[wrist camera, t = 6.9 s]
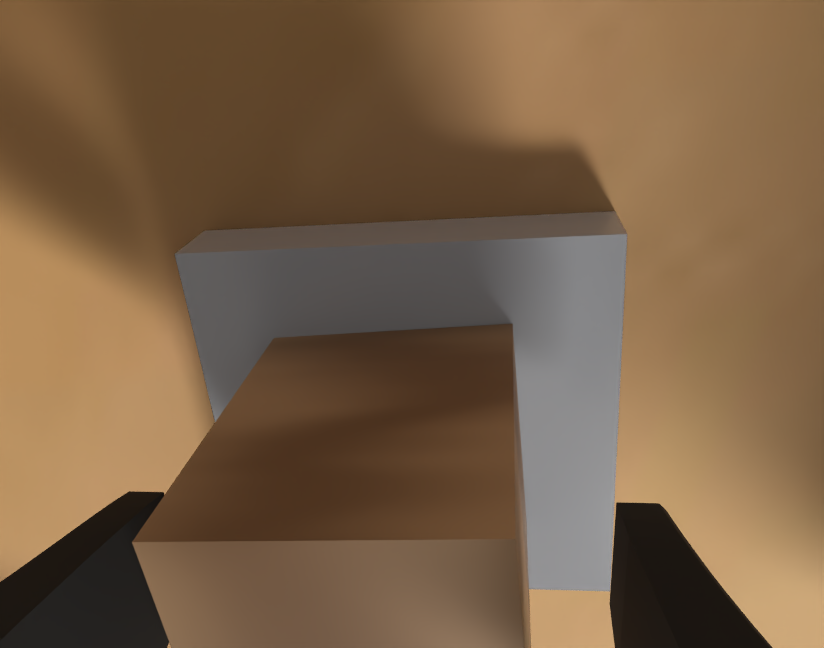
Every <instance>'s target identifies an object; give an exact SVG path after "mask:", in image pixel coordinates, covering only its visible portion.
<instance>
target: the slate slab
mask: <svg viewBox="0 0 824 648" xmlns="http://www.w3.org/2000/svg"><path fill="white" fill-rule="evenodd" d="M626 249H627V233H626V231H625V229H624V227H623V225H622V223H621V221H620V219H619V218H618V216H617V214H616V212H615V211H606V212H585V213H564V214H543V215H522V216H501V217H480V218H459V219H438V220H417V221H396V222H375V223H354V224H333V225H312V226H290V227H269V228H248V229H227V230H206V231H203V232H202V233H201V234H199V235H198V236H197V237H195V238H194V239H193V240H192V241H190V242H189V243H188V244H187V245H185V246H184V247H183V248H181V249H180V250H179V251H178V252H176V253H175V258H176V262H177V266H178V270H179V274H180V278H181V283H182V287H183V291H184V295H185V299H186V303H187V307H188V312H189V316H190V320H191V324H192V328H193V332H194V337H195V341H196V345H197V349H198V353H199V357H200V361H201V366H202V370H203V374H204V378H205V382H206V386H207V390H208V395H209V399H210V403H211V407H212V411H213V415H214V420H215V422H216V420H217V419H218V418H219V416H220V415H221V413H222V412H223V410H224V409H225V408H226V406H227V405H228V403H229V402H230V400H231V399H232V397H233V396H234V395H235V393H236V392H237V390H238V389H239V387H240V386H241V384H242V383H243V382H244V380H245V379H246V377H247V376H248V374H249V373H250V372H251V370H252V369H253V367H254V366H255V364H256V363H257V361H258V360H259V359H260V357H261V356H262V354H263V353H264V351H265V350H266V348H267V347H268V346H269V344H270V343H271V341H272V340H273V338H280V337H296V336H313V335H330V334H346V333H363V332H380V331H397V330H414V329H431V328H447V327H464V326H481V325H498V324H513V337H514V351H515V365H516V379H517V393H518V407H519V421H520V435H521V449H522V463H523V478H524V492H525V506H526V520H527V547H528V576H529V589H545V590H582V591H610V580H611V560H612V539H613V518H614V498H615V477H616V456H617V435H618V415H619V394H620V373H621V353H622V332H623V311H624V291H625V270H626Z"/></svg>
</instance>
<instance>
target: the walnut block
mask: <svg viewBox="0 0 824 648" xmlns="http://www.w3.org/2000/svg"><path fill="white" fill-rule="evenodd" d="M132 544H133V546H134V549H135V552H136V554H137V557H138V560H139V562H140V565H141V568H142V570H143V573H144V576H145V578H146V581H147V584H148V586H149V589H150V592H151V594H152V597H153V600H154V603H155V605H156V608H157V611H158V613H159V616H160V619H161V621H162V624H163V627H164V629H165V632H166V635H167V637H168V640H169V643H170V645H171V648H531V633H530V604H529V576H528V547H527V520H526V506H525V492H524V478H523V463H522V449H521V435H520V421H519V407H518V393H517V379H516V365H515V351H514V337H513V324H498V325H481V326H464V327H447V328H431V329H414V330H397V331H380V332H363V333H346V334H330V335H313V336H296V337H280V338H273V340H272V341H271V343H270V344H269V346H268V347H267V348H266V350H265V351H264V353H263V354H262V356H261V357H260V359H259V360H258V361H257V363H256V364H255V366H254V367H253V369H252V370H251V372H250V373H249V374H248V376H247V377H246V379H245V380H244V382H243V383H242V384H241V386H240V387H239V389H238V390H237V392H236V393H235V395H234V396H233V397H232V399H231V400H230V402H229V403H228V405H227V406H226V408H225V409H224V410H223V412H222V413H221V415H220V416H219V418H218V419H217V420H216V422H215V423H214V425H213V426H212V428H211V429H210V431H209V432H208V433H207V435H206V436H205V438H204V439H203V441H202V442H201V443H200V445H199V446H198V448H197V449H196V451H195V452H194V454H193V455H192V456H191V458H190V459H189V461H188V462H187V464H186V465H185V467H184V468H183V469H182V471H181V472H180V474H179V475H178V477H177V478H176V479H175V481H174V482H173V484H172V485H171V487H170V488H169V490H168V491H167V492H166V494H165V495H164V497H163V498H162V500H161V501H160V503H159V504H158V505H157V507H156V508H155V510H154V511H153V513H152V514H151V515H150V517H149V518H148V520H147V521H146V523H145V524H144V526H143V527H142V528H141V530H140V531H139V533H138V534H137V536H136V537H135V539H134V540H133V541H132Z"/></svg>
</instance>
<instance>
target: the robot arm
mask: <svg viewBox="0 0 824 648" xmlns="http://www.w3.org/2000/svg"><path fill="white" fill-rule="evenodd" d="M163 497H164V492H128V493H126V494H125V495H123V496H121V497H120V498H118V499H117V500H115V501H114V502H112V503H111V504H109V505H108V506H106V507H105V508H103V509H102V510H101V511H99V512H98V513H96V514H95V515H94V516H92V517H91V518H89V519H88V520H86V521H85V522H84V523H82V524H81V525H80V526H78V527H77V528H75V529H74V530H73V531H71V532H70V533H68V534H67V535H66V536H64V537H63V538H62V539H60V540H59V541H57V542H56V543H55V544H53V545H52V546H50V547H49V548H48V549H46V550H45V551H44V552H42V553H41V554H39V555H38V556H37V557H35V558H34V559H32V560H31V561H30V562H28V563H27V564H25V565H24V566H23V567H21V568H20V569H18V570H17V571H16V572H14V573H13V574H11V575H10V576H9V577H7V578H6V579H4V580H3V581H1V582H0V648H167V646H168V643H169V640H168V637H167V635H166V632H165V629H164V627H163V624H162V621H161V619H160V616H159V613H158V611H157V608H156V605H155V603H154V600H153V597H152V594H151V592H150V589H149V586H148V584H147V581H146V578H145V576H144V573H143V570H142V568H141V565H140V562H139V560H138V557H137V554H136V552H135V549H134V546H133V544H132V541H133V540H134V539H135V537H136V536H137V534H138V533H139V531H140V530H141V528H142V527H143V526H144V524H145V523H146V521H147V520H148V518H149V517H150V515H151V514H152V513H153V511H154V510H155V508H156V507H157V505H158V504H159V503H160V501H161V500H162V498H163ZM610 610H611V618H612V627H613V635H614V643H615V648H772V647H771V645H770V644H769V643H768V642H767V641H766V640H765V639H764V637H763V636H762V635H761V634H760V633H759V632H758V630H757V629H756V628H755V627H754V626H753V624H752V623H751V622H750V621H749V620H748V618H747V617H746V616H745V615H744V614H743V612H742V611H741V610H740V609H739V607H738V606H737V605H736V604H735V603H734V601H733V600H732V599H731V598H730V596H729V595H728V594H727V593H726V592H725V590H724V589H723V588H722V586H721V585H720V584H719V583H718V581H717V580H716V579H715V578H714V576H713V575H712V574H711V572H710V571H709V570H708V568H707V567H706V566H705V564H704V563H703V562H702V560H701V559H700V558H699V556H698V555H697V554H696V552H695V551H694V550H693V548H692V547H691V545H690V544H689V543H688V541H687V540H686V538H685V537H684V536H683V534H682V533H681V531H680V530H679V529H678V527H677V526H676V524H675V523H674V521H673V520H672V518H671V517H670V515H669V514H668V512H667V511H666V510H665V509H664V508H663V507H662V506H661V505H660V504H656V503H617V504H616V519H615V534H614V548H613V563H612V578H611V593H610Z"/></svg>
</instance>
